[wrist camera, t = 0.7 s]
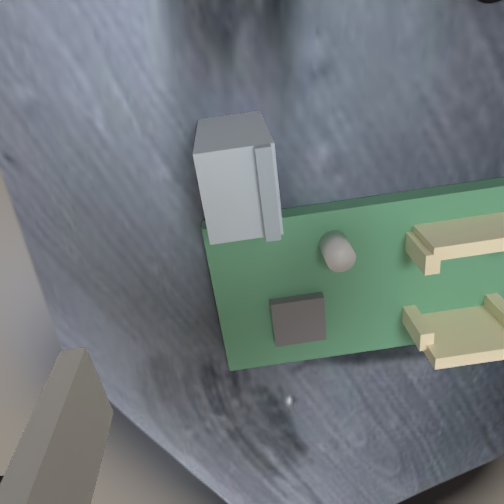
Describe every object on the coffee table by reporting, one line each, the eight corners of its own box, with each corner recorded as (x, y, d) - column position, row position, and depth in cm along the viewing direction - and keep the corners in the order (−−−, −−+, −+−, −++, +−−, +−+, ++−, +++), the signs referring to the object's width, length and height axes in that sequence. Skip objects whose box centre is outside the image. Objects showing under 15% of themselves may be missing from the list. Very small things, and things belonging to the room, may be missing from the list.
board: (202, 220, 32) (199, 266, 27) (533, 172, 32) (602, 207, 27) (229, 358, 38) (231, 419, 33) (507, 318, 39) (558, 371, 33)
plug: (198, 119, 29) (192, 158, 21) (259, 110, 29) (275, 145, 21) (211, 192, 31) (210, 250, 24) (268, 183, 31) (285, 239, 24)
